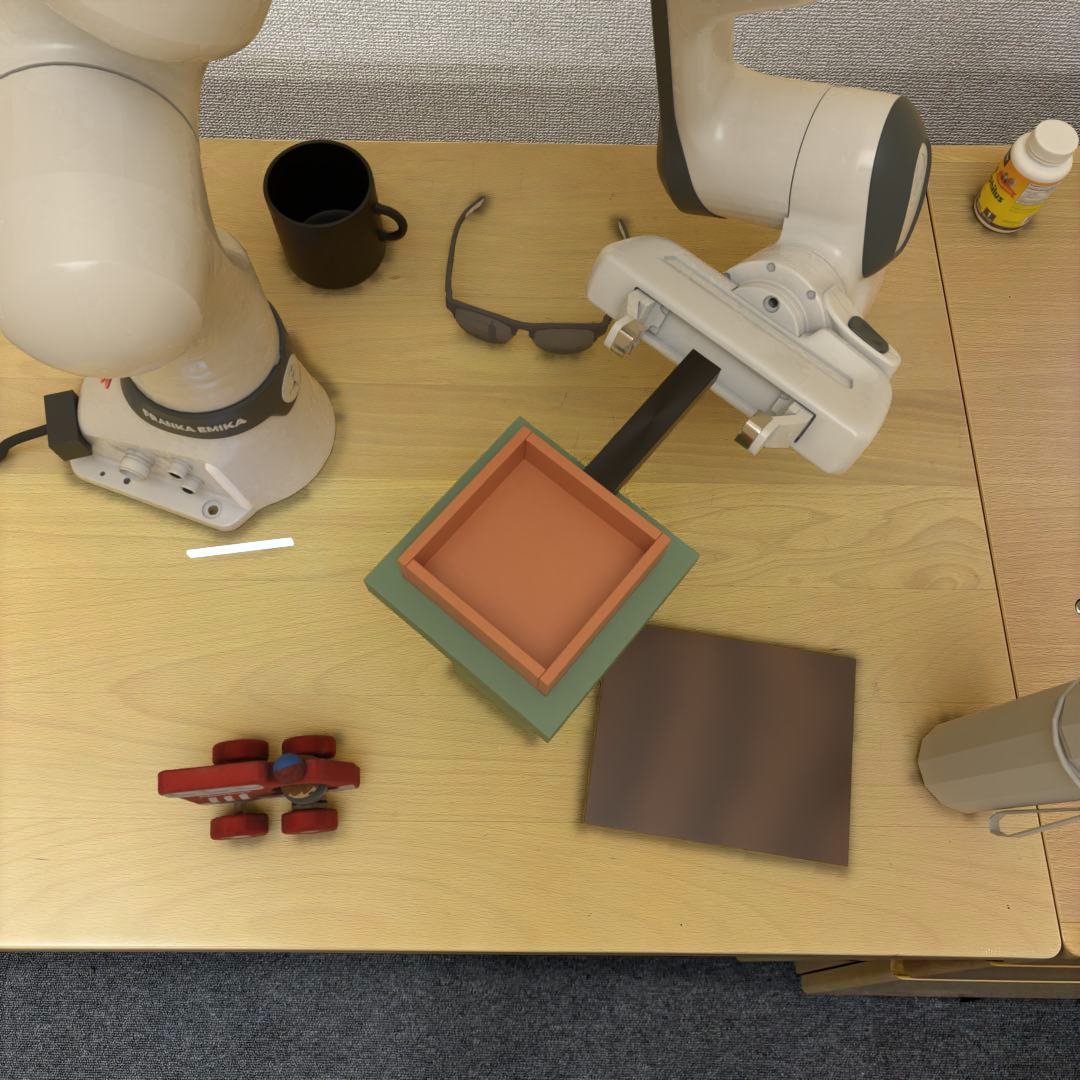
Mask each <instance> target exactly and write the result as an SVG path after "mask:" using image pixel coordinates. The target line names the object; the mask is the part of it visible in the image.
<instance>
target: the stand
mask: <svg viewBox="0 0 1080 1080" xmlns="http://www.w3.org/2000/svg"><path fill="white" fill-rule="evenodd" d="M523 426H525V427H527V428H528V429H529V430H531V431H532V432H533V433H535V434H536V435H537V436H538V437H540V438H541V439H542V440H544V441H545V442H546V443H548V444H549V445H550V446H551V447H553V448H554V449H555V450H557V451H558V452H559V453H561V454H562V455H563V456H564V457H566V458H567V459H568V460H570V461H571V462H572V463H573V464H575V465H576V466H577V467H579V468H580V469H581V470H584V469H585V467H586V466H587V465H585V464H584V463H582V462H581V461H579V460H578V459H577V458H576V457H574V456H573V455H572V454H570V452H568V451H567V450H565V449H564V448H562V446H560V445H559V444H557V443H556V442H555V441H553V440H552V439H551V438H550V437H549V436H547V435H546V434H544V432H542V431H540V430H539V429H538V428H536V427H535V426H534V425H533V424H531V423H530V422H529V421H527V420H526V419H525V418H524V417H522V416H521V415H519V416H518V417H517V418H516V419H515V420H514V421H513V422H512V423H511V424H510V425H509V426H508V427H507V429H505V431H503V433H502V434H501V435H500V436H499V437H498V438H497V439H496V440H495V441H494V442H493V443H492V444H491V445H490V446H489V447H488V448H487V450H486V451H484V453H482V455H480V456H479V458H478V459H476V461H475V462H474V463H473V464H472V465H471V466H470V467H469V468H468V469H467V470H466V471H465V472H464V473H463V475H461V477H460V478H459V479H458V480H456V482H455V483H454V484H453V485H452V486H451V487H450V488H449V489H448V490H447V491H446V492H445V493H444V494H443V496H442V497H440V499H439V500H438V501H436V503H434V505H433V506H432V507H431V508H430V509H429V510H428V511H427V512H426V513H425V514H424V515H423V517H421V519H420V520H419V521H418V522H417V523H416V524H415V525H414V526H413V527H412V528H411V529H410V530H409V531H408V532H407V533H406V534H405V535H404V536H403V537H402V538H401V539H400V541H398V542H397V543H396V545H395V546H394V547H393V548H392V549H391V550H390V551H389V552H388V553H387V554H386V555H385V556H384V557H383V558H382V559H381V560H380V562H378V563H377V565H376V566H375V567H374V568H373V569H372V570H371V571H370V572H369V573H368V574H367V575H365V577H364V578H363V582H364V585H365V587H366V589H367V590H368V592H369V593H371V594H372V595H373V596H374V597H375V598H376V599H378V601H380V602H381V603H382V604H383V605H384V606H386V607H387V608H388V609H389V610H390V611H392V613H394V615H396V616H397V617H399V618H400V619H401V620H402V621H403V622H405V624H406V625H408V626H409V627H410V628H411V629H412V630H414V632H416V633H418V635H420V636H421V637H422V638H423V639H424V640H426V641H427V642H428V643H429V644H430V645H431V646H433V647H434V648H435V649H436V650H437V651H439V652H440V653H441V654H442V655H443V656H444V657H446V658H447V659H448V660H449V661H450V662H451V663H452V666H453V670H454V672H455V674H457V675H458V676H459V677H460V678H461V679H463V680H464V681H465V682H466V683H467V684H468V685H470V686H471V687H472V688H473V689H474V690H475V691H477V692H478V693H479V694H480V695H482V697H484V698H485V699H486V700H487V701H488V702H490V704H492V705H493V706H494V707H495V708H497V709H498V711H500V712H501V713H502V714H504V715H505V716H506V717H507V718H508V719H509V720H510V721H512V722H513V724H515V725H516V726H517V727H518V728H520V729H521V730H522V731H523V732H525V733H526V734H527V735H528V736H529V737H531V736H532V735H533V734H536V736H538V737H539V738H541V739H542V740H543V742H545V743H546V744H549V743H550V742H551V741H552V739H553V738H554V737H555V735H556V734H557V733H558V732H559V731H560V730H561V728H562V727H563V726H564V725H565V723H566V722H567V721H568V720H569V718H571V716H572V715H573V714H574V712H575V711H576V710H577V709H578V708H579V706H581V704H582V703H583V701H585V700H586V698H587V697H588V695H589V694H590V693H591V692H592V691H593V689H594V688H595V687H596V685H597V684H598V683H600V682H601V678H602V677H603V676H604V675H605V673H606V672H607V671H608V670H609V669H610V667H611V666H612V665H613V664H614V662H615V661H616V660H617V659H618V658H619V656H620V655H621V654H622V653H623V651H624V650H625V649H626V648H627V647H628V645H629V644H630V643H631V642H632V640H633V639H634V638H635V637H636V636H637V634H638V633H639V632H640V631H641V630H642V628H643V627H644V626H645V625H647V624H648V623H649V621H650V620H651V619H652V617H653V616H654V615H655V614H656V612H658V610H659V609H660V608H661V607H662V605H663V604H664V603H665V602H666V600H667V599H668V598H669V597H670V596H671V594H672V593H673V592H674V591H675V589H676V588H677V587H678V586H679V585H680V583H681V582H682V581H683V579H685V577H686V576H687V575H688V573H689V572H691V570H692V569H693V567H694V566H695V565H696V563H697V562H698V560H699V558H700V557H701V554H700V553H699V552H698V551H696V550H695V549H694V548H692V547H691V546H690V545H688V544H687V543H686V542H685V541H683V540H682V539H681V538H679V536H677V535H675V534H674V533H673V532H672V531H670V530H669V529H668V528H666V527H665V525H663V524H661V522H659V521H657V520H656V519H655V518H653V516H651V515H650V514H648V513H647V512H646V511H644V509H642V508H640V507H639V506H638V505H637V504H635V503H634V502H633V501H632V500H631V499H629V498H627V497H626V496H625V495H624V494H622V493H621V492H620V491H619V492H618V493H617V494H616V495H615V496H616V497H618V498H619V499H620V500H621V501H623V502H624V503H625V504H627V505H628V506H629V507H630V508H632V509H633V510H634V511H636V512H637V513H638V514H640V515H641V516H642V517H643V518H645V519H646V520H647V521H649V522H650V523H651V524H652V525H654V526H655V527H656V528H658V529H659V530H660V531H662V533H664V534H665V535H667V536H668V537H669V538H671V541H670V543H669V545H668V547H667V549H666V551H665V553H664V555H663V557H662V559H661V560H660V561H659V562H658V564H657V565H656V566H655V567H654V568H653V569H652V571H651V572H650V573H649V574H648V575H647V577H646V578H645V579H644V580H643V581H642V583H641V584H640V585H639V586H638V587H637V589H636V590H635V591H634V592H633V593H632V595H631V596H630V597H629V598H628V599H627V601H626V602H625V603H624V604H623V605H622V607H621V608H620V609H619V610H618V611H617V612H616V614H615V615H614V616H613V617H612V618H611V620H610V621H609V622H608V623H607V624H606V626H605V627H604V628H603V629H602V630H601V632H600V633H599V634H598V635H597V636H596V638H595V639H594V640H593V641H592V642H591V644H590V645H589V646H588V647H587V648H586V650H585V651H584V652H583V653H582V654H581V655H580V657H579V658H578V659H577V660H576V661H575V663H574V664H573V665H572V666H571V667H570V669H569V670H568V671H567V672H566V673H565V675H564V676H563V677H562V678H561V679H560V681H559V682H558V683H557V684H556V685H555V687H554V688H553V689H552V690H551V691H550V692H549V694H548V695H547V696H544V695H543V694H542V693H540V692H539V691H538V690H537V689H536V688H534V687H533V686H532V685H531V684H530V683H528V682H527V681H526V680H525V679H524V678H523V677H521V676H520V675H519V674H518V673H517V672H515V671H514V670H513V669H512V668H511V667H509V666H508V665H507V664H506V663H505V662H503V661H502V660H501V659H500V658H499V657H498V656H496V655H495V654H494V653H493V652H492V651H490V650H489V649H488V648H487V647H486V646H484V645H483V644H482V643H481V642H480V641H479V640H477V639H476V638H475V637H474V636H473V635H471V634H470V633H469V632H468V631H467V630H465V629H464V628H463V627H462V626H461V625H459V624H458V623H457V622H456V621H455V620H454V619H452V618H451V617H450V616H449V615H448V614H446V613H445V612H444V611H443V610H442V609H440V608H439V607H438V606H437V605H436V604H434V603H433V602H432V601H431V600H430V599H429V598H427V597H426V596H425V595H424V594H423V593H421V592H420V591H419V590H418V589H417V588H415V587H414V586H413V585H412V584H411V583H410V582H408V581H407V580H406V579H405V578H404V577H403V575H402V572H401V569H400V567H399V564H398V561H397V559H398V557H399V556H400V555H401V554H402V553H403V552H404V551H405V550H406V549H407V548H408V547H409V546H410V545H411V544H412V543H413V542H414V541H415V540H416V539H417V537H418V536H419V535H420V534H421V533H422V532H423V531H424V530H425V529H426V528H427V527H428V526H429V525H430V524H431V523H432V522H433V521H434V520H435V519H436V517H437V516H438V515H439V514H440V513H441V512H442V511H443V510H444V509H445V508H446V507H447V506H448V505H449V504H450V503H451V502H452V501H453V500H454V498H455V497H456V496H457V495H458V494H459V493H460V492H461V491H462V490H463V489H464V488H465V487H466V486H467V485H468V484H469V483H470V482H471V481H472V480H473V478H474V477H475V476H476V475H477V474H478V473H479V472H480V471H481V470H482V469H483V468H484V467H485V466H486V465H487V464H488V463H489V462H490V461H491V459H492V458H493V457H494V456H495V455H496V454H497V453H498V452H499V451H500V450H501V449H502V448H503V447H504V446H505V445H506V444H507V443H508V442H509V441H510V439H511V438H512V437H513V436H514V435H515V434H516V433H517V432H518V431H519V430H520V429H521V428H522V427H523Z"/></svg>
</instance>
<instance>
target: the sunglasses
mask: <svg viewBox="0 0 1080 1080" xmlns="http://www.w3.org/2000/svg"><path fill="white" fill-rule="evenodd" d="M485 199H486V197H485V195H481V196H480V197H478V198H477V199H476V200H475V201H473V202H472V203H470V205H468V206H467V207H466V208H465V209H464V210H463V212H462V213H461V214H460V216H459V217H458V219H457V220H456V223H455V225H454V228H453V231H452V235H451V237H450V238H451V239H450V243H449V249H448V254H447V255H448V256H447V260H446V261H447V263H446V271H445V281H444V292H445V298H444V299H445V300H444V301H445V308H446V309H447V310H448V311H449V312H450V313H451V314H452V317H453V319H454V320H455V321H456V323H457V325H458V326H459V327H460V328H461V329H462V330H463V332H465V333H467V334H468V335H470V336H472V337H473V338H475V339H477V340H480V341H483V342H485V343H490V344H498V345H501V344H506V343H508V342H510V341H511V340H513V339H514V338H515V337H516V335H517V334H518V331H519V330H521V331H526V332H528V338H529V339H531V341H532V342H533V344H534V345H535V346H536V347H538V348H539V349H540V350H542V351H544V352H546V353H550V354H555V355H572V354H573V355H574V354H578V353H582V352H584V351H586V350H588V349H590V348H591V347H592V346H593V345H594V343H596V342H597V340H598V339H599V338H600V337H603V336H605V335H606V334H607V331H608V329H609V326H610V324H611V322H612V321H613V319H612V318H611V317H610V316H608V315H607V314H606V313H605V315H603V317H602V321H601V322H527V321H521V320H518V319H513V318H511V317H508V316H505V315H502V314H499V313H496V312H494V311H490V310H488V309H484V308H480V307H478V306H475V305H472V304H470V303H466V302H464V301H461V300H458V299H456V298H454V297H453V287H452V282H453V281H452V276H453V271H454V262H455V261H454V260H455V252H456V244H457V241H458V240H457V238H458V235H459V232H460V229H461V227H462V225H463V224H464V222H465V220H466V218H468V216H469V215H470V214H472V213H473V212H475V211H477V209H479V208H480V207H481V206H482V204H483V203H484V201H485ZM618 229H619V232H620V233H621V235H622V237H623V240H624V239H628V238H631V237H630V235H629V232H628V229H627V227H626V225H625V222H624V219H623V218H618Z"/></svg>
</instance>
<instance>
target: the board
mask: <svg viewBox="0 0 1080 1080" xmlns="http://www.w3.org/2000/svg"><path fill="white" fill-rule="evenodd" d="M856 670H857V658H855V657H849V656H842V655H837V654H830V653H823V652H817V651H811V650H805V649H804V650H803V649H799V648H792V647H786V646H780V645H773V644H767V643H761V642H755V641H749V640H742V639H736V638H731V637H725V636H718V635H713V634H712V635H711V634H706V633H698V632H693V631H685V630H680V629H674V628H668V627H662V626H656V625H650V624H649V625H648V624H646V625H645V626H644V627H643V628H642V630H641V631H640V632H639V633H638V634H637V636H636V637H635V638H634V639H633V640H632V642H631V643H630V644H629V645H628V647H627V648H626V649H625V650H624V651H623V653H622V654H621V655H620V656H619V658H618V659H617V660H616V661H615V662H614V664H613V665H612V666H611V667H610V669H609V670H608V671H607V672H606V673H605V675H604V676H603V677H602V678H601V679H600V685H599V693H598V694H599V695H598V701H597V709H596V716H595V723H594V730H593V731H594V733H593V738H592V746H591V752H590V753H591V754H590V761H589V767H588V768H589V769H588V776H587V783H586V791H585V798H584V805H583V812H582V820H581V824H582V825H583V826H584V825H585V826H590V827H591V826H592V827H598V828H603V829H610V830H616V831H620V832H621V831H622V832H627V833H634V834H640V835H646V836H652V837H658V838H663V839H670V840H675V841H682V842H688V843H694V844H700V845H706V846H713V847H719V848H725V849H731V850H737V851H742V852H748V853H755V854H761V855H766V856H773V857H779V858H785V859H791V860H798V861H803V862H809V863H815V864H822V865H827V866H834V867H839V868H847V867H849V852H850V851H849V850H850V848H849V847H850V828H851V827H850V825H851V823H850V822H851V801H852V799H851V797H852V773H853V750H854V749H853V748H854V720H855V699H856V698H855V697H856V696H855V695H856V672H857V671H856Z"/></svg>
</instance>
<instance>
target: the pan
mask: <svg viewBox="0 0 1080 1080" xmlns="http://www.w3.org/2000/svg"><path fill="white" fill-rule="evenodd" d="M720 371H721V368H720V367H718V366H717V365H715V364H714V363H713V362H711V361H710V360H709V359H707V358H706V357H704V356H703V355H702V354H700V353H699V352H697V351H696V350H695V349H692V350H691V351H690V352H689V354H688V355H687V356H686V357H685V358H684V359H683V360H682V361H681V362H680V363H679V365H678V366H677V365H676V367H675V368H674V369H673V370H672V371H671V372H670V373H669V374H668V375H667V376H666V378H665V379H664V380H663V381H662V382H661V384H659V385H658V387H657V388H656V389H655V390H654V391H653V392H652V393H651V394H650V396H648V398H647V399H646V400H645V401H644V402H643V403H642V404H641V405H640V407H638V409H637V410H636V411H635V412H634V413H633V414H632V415H631V416H630V418H628V420H627V421H626V422H625V423H624V424H623V425H622V427H620V428H619V430H618V431H617V432H616V433H615V434H614V435H613V436H612V438H610V440H609V441H608V442H607V443H606V444H605V445H604V446H603V447H602V448H601V449H600V451H598V453H597V454H596V455H595V456H594V457H593V459H592V460H590V461H589V463H588V464H587V465H585V466H586V467H585V469H584V470H581V469H580V468H579V467H577V466H576V465H575V464H573V463H572V462H571V461H570V460H568V459H567V458H566V457H564V456H563V455H562V454H561V453H559V452H558V451H557V450H555V449H554V448H553V447H551V446H550V445H549V444H548V443H546V442H545V441H544V440H542V439H541V438H540V437H538V436H537V435H536V434H535V433H533V432H532V431H531V430H529V429H528V428H527V427H525V426H523V427H522V428H521V429H520V430H519V431H518V432H517V433H516V434H515V435H514V436H513V437H512V438H511V439H510V441H509V442H508V443H507V444H506V445H505V446H504V447H503V448H502V449H501V450H500V451H499V452H498V453H497V454H496V455H495V456H494V457H493V458H492V459H491V461H490V462H489V463H488V464H487V465H486V466H485V467H484V468H483V469H482V470H481V471H480V472H479V473H478V474H477V475H476V476H475V477H474V478H473V480H472V481H471V482H470V483H469V484H468V485H467V486H466V487H465V488H464V489H463V490H462V491H461V492H460V493H459V494H458V495H457V496H456V497H455V498H454V500H453V501H452V502H451V503H450V504H449V505H448V506H447V507H446V508H445V509H444V510H443V511H442V512H441V513H440V514H439V515H438V516H437V517H436V519H435V520H434V521H433V522H432V523H431V524H430V525H429V526H428V527H427V528H426V529H425V530H424V531H423V532H422V533H421V534H420V535H419V536H418V537H417V539H416V540H415V541H414V542H413V543H412V544H411V545H410V546H409V547H408V548H407V549H406V550H405V551H404V552H403V553H402V554H401V555H400V556H399V557H398V559H397V561H398V564H399V567H400V569H401V572H402V575H403V577H404V578H405V579H406V580H407V581H408V582H410V583H411V584H412V585H413V586H414V587H415V588H417V589H418V590H419V591H420V592H421V593H423V594H424V595H425V596H426V597H427V598H429V599H430V600H431V601H432V602H433V603H434V604H436V605H437V606H438V607H439V608H440V609H442V610H443V611H444V612H445V613H446V614H448V615H449V616H450V617H451V618H452V619H454V620H455V621H456V622H457V623H458V624H459V625H461V626H462V627H463V628H464V629H465V630H467V631H468V632H469V633H470V634H471V635H473V636H474V637H475V638H476V639H477V640H479V641H480V642H481V643H482V644H483V645H484V646H486V647H487V648H488V649H489V650H490V651H492V652H493V653H494V654H495V655H496V656H498V657H499V658H500V659H501V660H502V661H503V662H505V663H506V664H507V665H508V666H509V667H511V668H512V669H513V670H514V671H515V672H517V673H518V674H519V675H520V676H521V677H523V678H524V679H525V680H526V681H527V682H528V683H530V684H531V685H532V686H533V687H534V688H536V689H537V690H538V691H539V692H540V693H542V694H543V695H544V696H547V695H548V694H549V692H550V691H551V690H552V689H553V688H554V687H555V685H556V684H557V683H558V682H559V681H560V679H561V678H562V677H563V676H564V675H565V673H566V672H567V671H568V670H569V669H570V667H571V666H572V665H573V664H574V663H575V661H576V660H577V659H578V658H579V657H580V655H581V654H582V653H583V652H584V651H585V650H586V648H587V647H588V646H589V645H590V644H591V642H592V641H593V640H594V639H595V638H596V636H597V635H598V634H599V633H600V632H601V630H602V629H603V628H604V627H605V626H606V624H607V623H608V622H609V621H610V620H611V618H612V617H613V616H614V615H615V614H616V612H617V611H618V610H619V609H620V608H621V607H622V605H623V604H624V603H625V602H626V601H627V599H628V598H629V597H630V596H631V595H632V593H633V592H634V591H635V590H636V589H637V587H638V586H639V585H640V584H641V583H642V581H643V580H644V579H645V578H646V577H647V575H648V574H649V573H650V572H651V571H652V569H653V568H654V567H655V566H656V565H657V564H658V562H659V561H660V560H661V559H662V557H663V555H664V553H665V551H666V549H667V547H668V545H669V543H670V541H671V538H669V537H668V536H667V535H665V534H664V533H662V531H660V530H659V529H658V528H656V527H655V526H654V525H652V524H651V523H650V522H649V521H647V520H646V519H645V518H643V517H642V516H641V515H640V514H638V513H637V512H636V511H634V510H633V509H632V508H630V507H629V506H628V505H627V504H625V503H624V502H623V501H621V500H620V499H619V498H618V497H616V496H615V495H616V494H617V493H618V492H620V491H621V490H622V489H623V488H624V487H625V486H626V484H627V483H628V482H629V481H630V480H631V478H633V476H634V475H635V474H636V473H637V472H638V470H639V469H641V467H642V466H644V464H645V463H646V462H647V460H648V459H649V458H650V457H651V456H652V455H653V454H654V453H655V451H656V450H657V449H658V448H659V447H660V445H662V443H663V442H664V441H665V440H666V439H667V438H668V437H669V435H670V434H671V433H673V431H674V429H676V428H677V426H678V425H679V424H681V422H682V421H683V420H684V418H686V416H687V415H688V414H689V413H690V411H691V410H692V409H693V408H694V407H695V406H696V405H697V404H698V402H700V400H701V399H702V398H703V397H704V396H705V394H706V393H707V392H708V391H709V390H710V388H711V386H712V385H713V384H714V383H715V382H716V380H717V378H718V376H719V373H720Z"/></svg>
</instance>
